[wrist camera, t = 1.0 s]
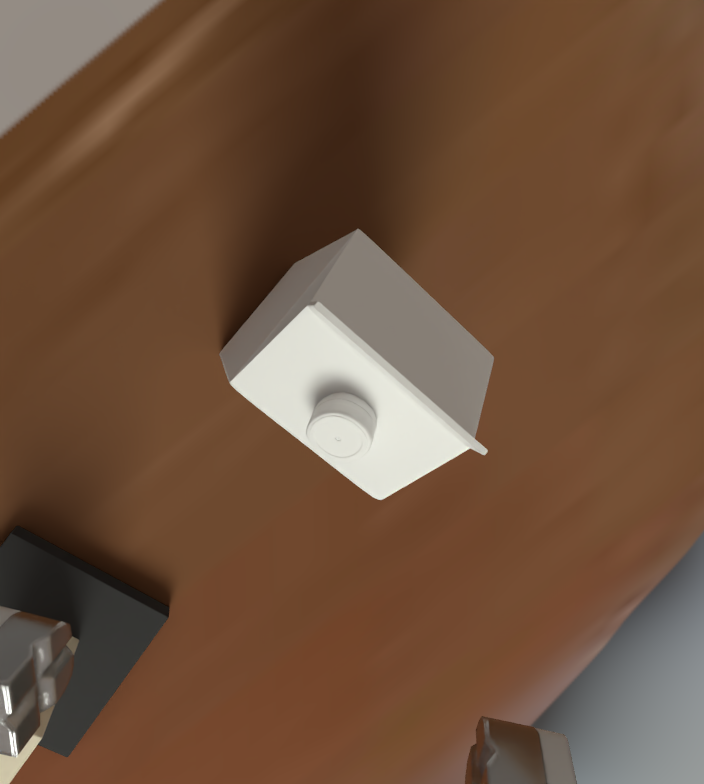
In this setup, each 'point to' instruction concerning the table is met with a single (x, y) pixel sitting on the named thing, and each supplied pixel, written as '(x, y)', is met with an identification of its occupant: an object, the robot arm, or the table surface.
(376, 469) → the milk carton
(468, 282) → the table surface
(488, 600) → the table surface
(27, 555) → the loose pad
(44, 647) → the robot arm
